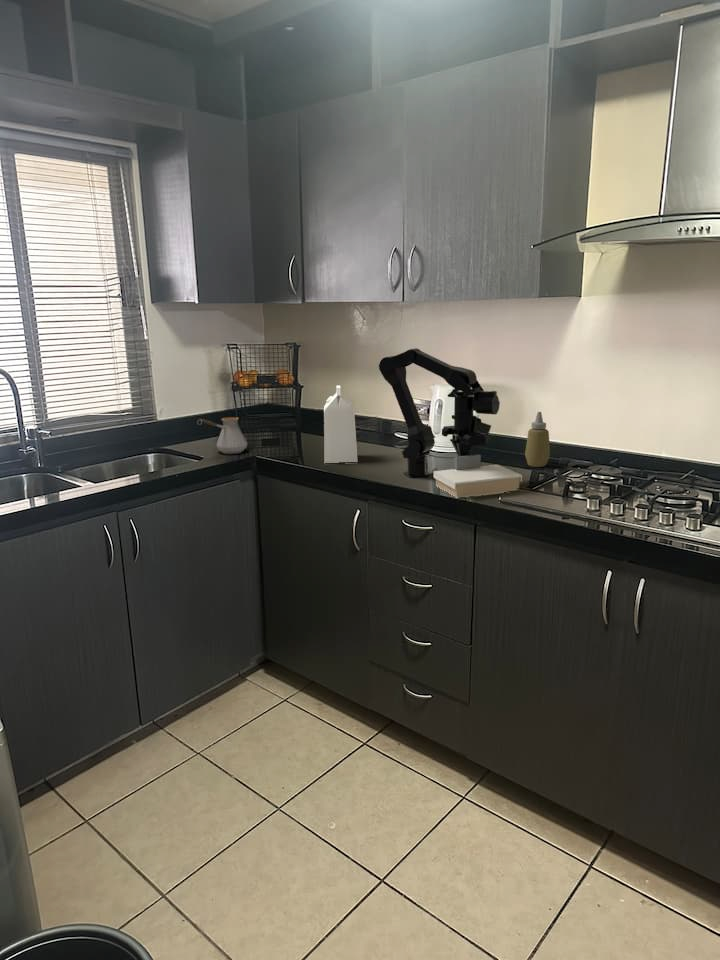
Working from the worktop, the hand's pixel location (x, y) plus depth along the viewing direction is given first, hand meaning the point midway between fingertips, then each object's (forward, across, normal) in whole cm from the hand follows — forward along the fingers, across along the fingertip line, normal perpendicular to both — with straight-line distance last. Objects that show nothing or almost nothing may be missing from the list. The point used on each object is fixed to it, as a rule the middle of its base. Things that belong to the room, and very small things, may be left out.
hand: (463, 462), depth 211 cm
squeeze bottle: (+6, +9, -32) cm, 34 cm away
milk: (+6, +44, +26) cm, 51 cm away
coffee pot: (+6, +70, +64) cm, 95 cm away
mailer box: (+6, -9, 0) cm, 11 cm away
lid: (+3, -9, 0) cm, 10 cm away
